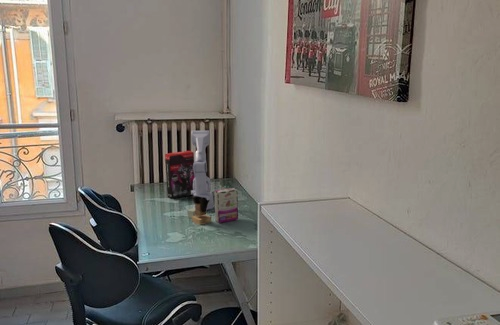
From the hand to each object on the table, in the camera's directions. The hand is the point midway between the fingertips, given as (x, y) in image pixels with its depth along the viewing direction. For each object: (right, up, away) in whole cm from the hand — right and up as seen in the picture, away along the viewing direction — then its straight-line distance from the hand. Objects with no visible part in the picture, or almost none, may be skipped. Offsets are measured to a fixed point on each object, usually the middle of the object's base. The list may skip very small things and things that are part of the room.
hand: (201, 210), depth 221 cm
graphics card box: (-18, +4, +46) cm, 50 cm away
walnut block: (0, -2, 0) cm, 2 cm away
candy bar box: (+13, -6, +3) cm, 14 cm away
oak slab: (0, -6, +1) cm, 6 cm away
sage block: (-5, -4, +8) cm, 11 cm away
